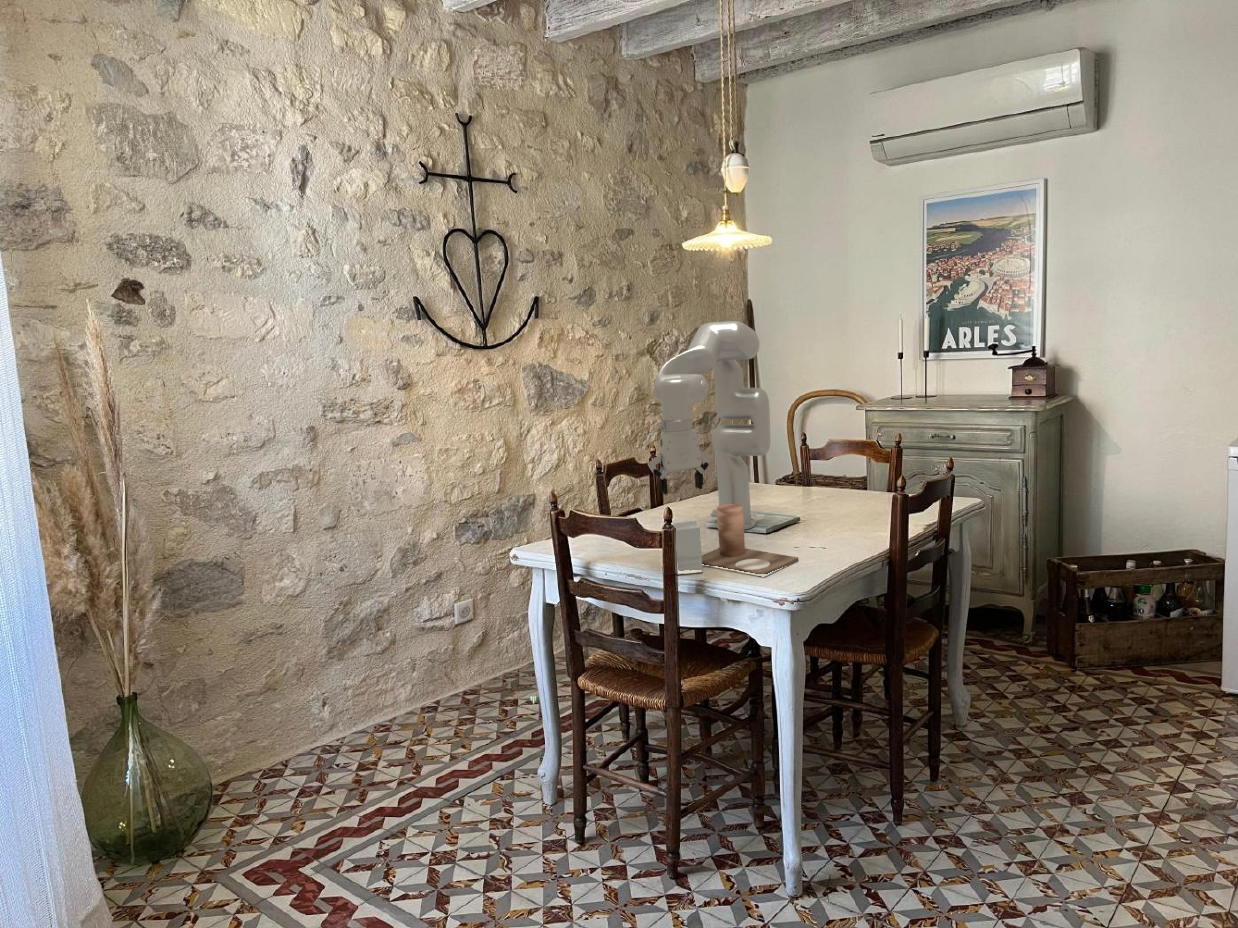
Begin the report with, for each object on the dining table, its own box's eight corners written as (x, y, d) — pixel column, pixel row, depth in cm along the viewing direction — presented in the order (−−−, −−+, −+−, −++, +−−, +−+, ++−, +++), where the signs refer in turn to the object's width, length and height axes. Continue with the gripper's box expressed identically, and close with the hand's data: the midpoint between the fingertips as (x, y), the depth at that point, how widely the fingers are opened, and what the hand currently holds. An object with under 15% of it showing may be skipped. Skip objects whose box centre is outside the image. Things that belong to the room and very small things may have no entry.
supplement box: (699, 565, 254) (696, 520, 251) (703, 573, 246) (700, 527, 244) (672, 567, 254) (669, 522, 251) (675, 576, 246) (671, 529, 244)
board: (690, 563, 256) (687, 513, 253) (726, 548, 267) (723, 500, 264) (763, 577, 239) (761, 524, 237) (798, 560, 250) (796, 510, 248)
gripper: (651, 431, 236) (655, 497, 240) (714, 423, 241) (717, 488, 244) (641, 428, 243) (645, 492, 247) (703, 420, 248) (706, 483, 252)
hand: (681, 490), depth 246 cm, fingers open, 9 cm apart
